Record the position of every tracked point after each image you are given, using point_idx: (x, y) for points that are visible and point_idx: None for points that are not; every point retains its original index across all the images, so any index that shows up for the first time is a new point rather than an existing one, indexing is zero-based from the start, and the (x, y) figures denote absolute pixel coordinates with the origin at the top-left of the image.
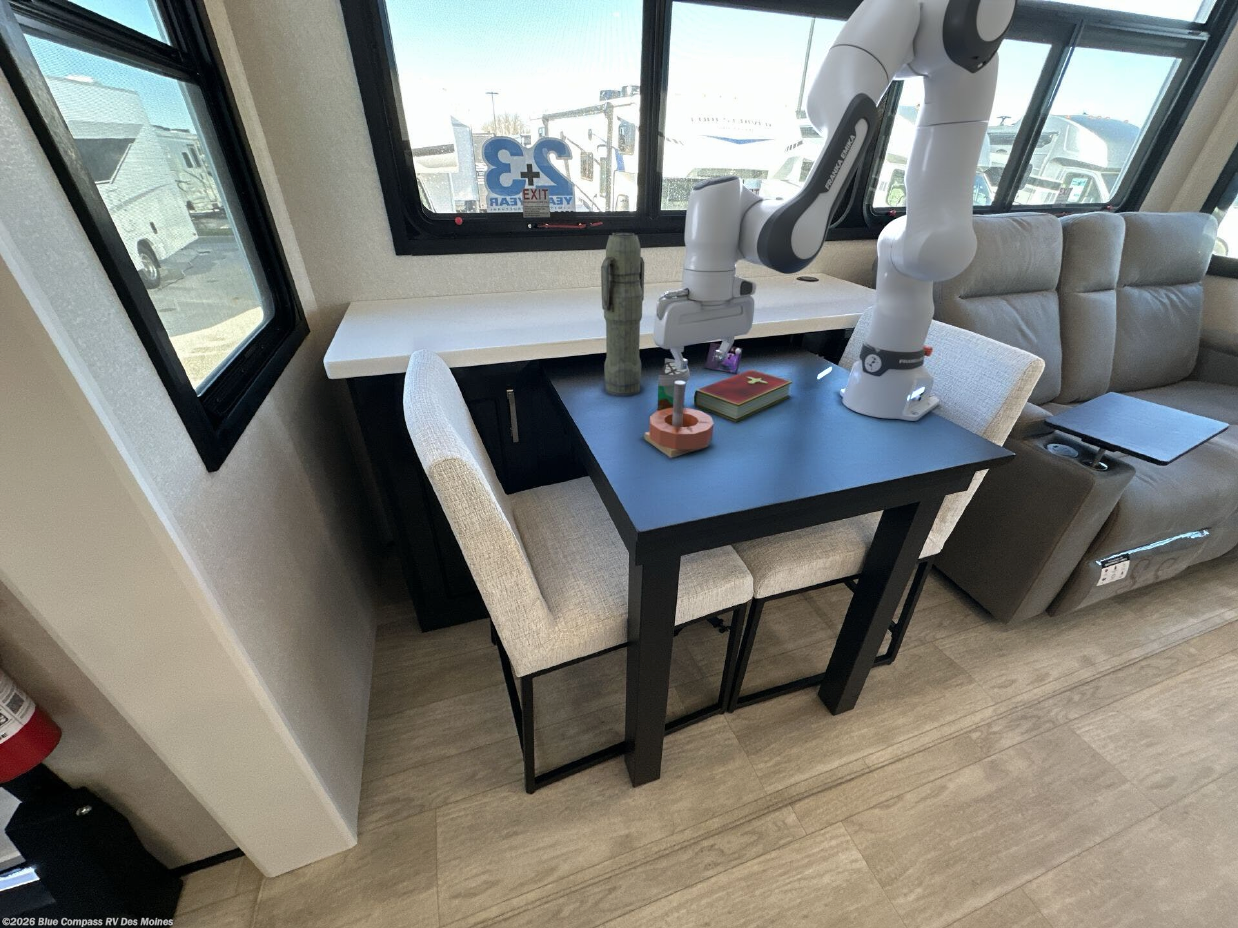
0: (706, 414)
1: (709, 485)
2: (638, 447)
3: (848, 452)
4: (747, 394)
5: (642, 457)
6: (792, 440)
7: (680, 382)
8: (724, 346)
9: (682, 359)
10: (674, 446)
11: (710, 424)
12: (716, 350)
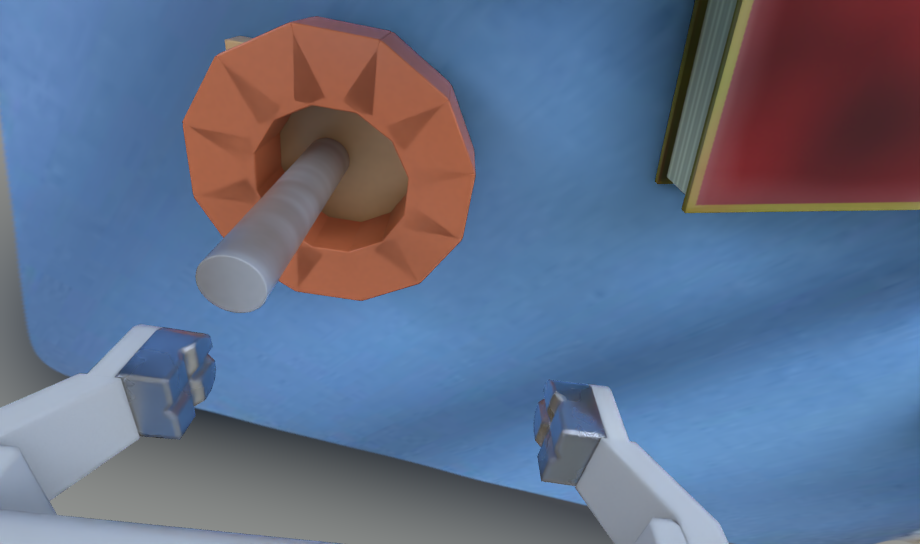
0: (463, 217)
1: (266, 354)
2: (182, 75)
3: (655, 445)
4: (844, 164)
5: (163, 146)
6: (634, 355)
7: (234, 286)
8: (615, 501)
9: (112, 447)
10: None
11: (402, 282)
12: (570, 434)
